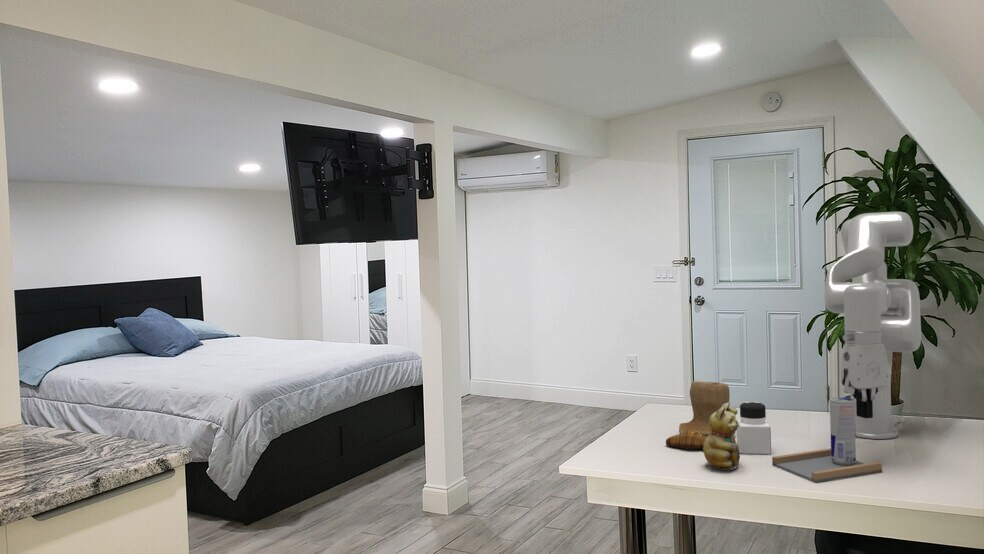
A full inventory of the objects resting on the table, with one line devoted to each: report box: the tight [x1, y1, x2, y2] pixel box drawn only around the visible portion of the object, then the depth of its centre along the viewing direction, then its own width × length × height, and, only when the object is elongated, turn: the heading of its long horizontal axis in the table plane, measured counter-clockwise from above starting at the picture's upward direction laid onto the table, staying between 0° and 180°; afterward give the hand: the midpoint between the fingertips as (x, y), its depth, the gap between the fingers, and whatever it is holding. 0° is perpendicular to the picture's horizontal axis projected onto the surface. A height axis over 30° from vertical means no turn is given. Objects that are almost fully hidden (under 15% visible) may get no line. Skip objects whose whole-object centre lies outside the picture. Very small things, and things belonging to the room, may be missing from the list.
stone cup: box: [678, 380, 736, 437], centre depth 197 cm, size 15×12×15 cm
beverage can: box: [829, 396, 857, 465], centre depth 165 cm, size 5×5×15 cm
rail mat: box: [771, 447, 883, 484], centre depth 164 cm, size 18×14×2 cm
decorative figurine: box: [702, 402, 741, 471], centre depth 168 cm, size 10×8×15 cm
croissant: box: [665, 430, 707, 451], centre depth 185 cm, size 14×7×5 cm, turn 64°
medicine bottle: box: [736, 401, 772, 455], centre depth 181 cm, size 7×7×12 cm
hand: (864, 416), depth 167 cm, fingers closed
